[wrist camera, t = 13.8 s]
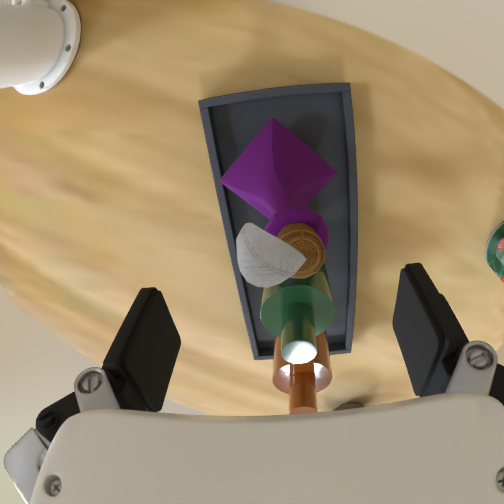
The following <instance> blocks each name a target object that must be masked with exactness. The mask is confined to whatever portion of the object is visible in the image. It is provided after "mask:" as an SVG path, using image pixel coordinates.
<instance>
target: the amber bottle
mask: <svg viewBox="0 0 504 504" xmlns="http://www.w3.org/2000/svg"><path fill="white" fill-rule="evenodd" d="M316 341H317V354H316V356H315V357H314V359H312V360H311V361H309V362H306V363H302V364H294V363H290V362H287V361H286V360H284V359H283V357H282V356H281V338H280V337H277V336H275V335H274V357H273V377H272V380H273V384H274V386H275V387H276V388H277V389H278V390H280V391H282V392H284V393H287V394H289V415H292V414H306V413H317V398H316V392H319V391H321V390H323V389H324V388H326V387H327V386H328V385H329V384H330V382H331V380H332V370H331V362H330V353H329V345H328V337H327V330H325V331H324V332H322V333H321V334H319V335H317V336H316Z"/></svg>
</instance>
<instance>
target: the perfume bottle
mask: <svg viewBox="0 0 504 504" xmlns="http://www.w3.org/2000/svg"><path fill="white" fill-rule="evenodd" d="M336 174H337V172H336V171H335V170H334V169H333V168H332V167H331V166H330V165H329V164H328V163H327V162H325V161H324V160H323V159H322V158H321V157H320V156H319V155H318V154H316V153H315V152H314V151H313V150H312V149H311V148H310V147H308V146H307V145H306V144H305V143H304V142H303V141H301V140H300V139H299V138H298V137H297V136H296V135H294V134H293V133H292V132H291V131H290V130H288V129H287V128H286V127H285V126H284V125H282V124H281V123H280V122H279V121H277V120H276V119H274V118H272V119H270V120H269V122H268V123H267V124H266V125H265V126H264V127H263V129H262V130H261V131H260V132H259V133H258V134H257V136H256V137H255V138H254V139H253V140H252V141H251V143H250V144H249V145H248V146H247V147H246V149H245V150H244V151H243V152H242V153H241V154H240V156H239V157H238V158H237V159H236V161H235V162H234V163H233V164H232V165H231V167H230V168H229V169H228V170H227V172H226V173H225V174H224V175H223V176H222V178H221V179H220V181H221V183H222V184H223V185H225V186H226V187H227V188H229V189H230V190H231V191H233V192H234V193H235V194H237V195H238V196H239V197H241V198H242V199H243V200H244V201H246V202H247V203H248V204H250V205H251V206H252V207H254V208H255V209H256V210H257V211H259V212H260V213H261V214H263V215H264V216H265V217H267V218H268V219H269V222H268V223H267V225H266V226H265V228H264V230H262V229H261V228H259V227H258V226H256V225H254V224H253V223H246V224H245V225H244V226H243V228H242V229H241V231H240V233H239V235H238V237H237V239H236V246H237V260H238V265H239V269H240V272H241V273H242V275H243V276H244V278H245V279H246V281H247V282H249V283H251V284H253V285H255V286H257V287H266V288H268V287H271V286H274V285H277V284H279V283H282V282H283V281H285V280H286V279H288V278H289V277H290V278H307V277H309V276H311V275H313V274H315V273H317V272H318V270H319V269H320V268H321V266H322V265H323V264H324V262H325V250H326V249H327V244H328V235H329V230H328V228H327V226H326V224H325V221H324V219H323V217H322V216H321V215H320V214H318V213H316V212H315V211H313V210H312V209H310V208H308V207H306V206H307V205H308V204H309V203H310V202H311V201H312V199H313V198H314V197H315V196H316V195H317V194H318V193H319V192H320V191H321V190H322V189H323V188H324V187H325V186H326V185H327V184H328V183H329V182H330V181H331V180H332V179H333V178H334V177H335V176H336Z"/></svg>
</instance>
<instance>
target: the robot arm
mask: <svg viewBox="0 0 504 504" xmlns="http://www.w3.org/2000/svg"><path fill="white" fill-rule="evenodd" d="M80 34H81V22H80V18H79V14H78V12H77V10H76V8H75V6H74V5H73V4H72V3H71V2H69V1H68V0H12V5H11V4H0V89H1V88H5V87H10V86H13V87H14V88H15V89H16V90H17V91H18V92H20V93H22V94H27V95H33V94H39V93H43V92H45V91H47V90H49V89H50V88H52V87H53V86H54V85H56V84H57V83H58V82H59V81H60V80H61V79H62V78H63V76H64V75H65V73H66V72H67V71H68V69H69V67H70V66H71V64H72V62H73V60H74V57H75V55H76V52H77V49H78V45H79V42H80ZM393 329H394V332H395V335H396V337H397V340H398V343H399V346H400V349H401V352H402V355H403V358H404V361H405V364H406V367H407V370H408V373H409V377H410V380H411V383H412V386H413V390H414V393H415V395H416V396H420V397H419V398H414V399H409V400H404V401H398V402H393V403H387V404H380V405H374V406H368V407H361V408H354V409H346V410H338V411H329V412H318V413H306V414H292V415H272V416H206V415H186V414H172V413H159V412H158V411H160V410H161V409H162V406H163V402H164V399H165V395H166V392H167V389H168V385H169V382H170V378H171V375H172V372H173V368H174V365H175V362H176V358H177V355H178V352H179V349H180V345H181V339H180V336H179V333H178V331H177V329H176V326H175V324H174V322H173V319H172V317H171V315H170V312H169V310H168V307H167V305H166V302H165V300H164V297H163V295H162V293H161V291H158V290H157V289H156V288H155V287H151V288H142V289H141V290H140V291H139V293H138V295H137V297H136V299H135V301H134V302H133V304H132V306H131V308H130V310H129V312H128V314H127V316H126V318H125V319H124V321H123V323H122V325H121V327H120V329H119V331H118V333H117V335H116V337H115V339H114V341H113V343H112V345H111V347H110V349H109V351H108V353H107V355H106V357H105V359H104V362H103V366H102V368H98V367H91V368H88V369H86V370H84V371H83V372H81V373H80V374H79V375H78V377H77V378H76V380H75V383H74V390H75V391H74V392H72V393H71V394H69V395H67V396H66V397H64V398H62V399H60V400H59V401H57V402H55V403H53V404H52V405H50V406H48V407H47V408H45V409H43V410H42V411H41V412H40V414H39V415H38V417H37V419H36V429H33V428H31V429H30V430H28V431H27V432H26V433H25V434H24V436H22V437H21V438H20V439H19V440H18V441H17V442H16V443H15V444H14V445H13V446H12V447H11V448H10V449H9V450H8V451H7V453H6V454H5V457H4V466H5V469H6V470H7V472H8V474H9V476H10V478H11V479H12V481H13V483H14V485H15V486H16V488H17V490H18V491H19V493H20V495H21V496H22V498H23V500H24V501H25V503H26V504H504V366H502V365H500V364H498V363H497V354H496V352H495V350H494V349H493V348H492V347H491V346H490V345H489V344H487V343H485V342H483V341H471V342H469V341H468V339H467V337H466V335H465V333H464V331H463V329H462V327H461V325H460V324H459V322H458V320H457V318H456V316H455V314H454V313H453V311H452V309H451V307H450V306H449V304H448V302H447V300H446V299H445V297H444V296H443V295H442V294H439V292H438V290H437V289H436V287H435V285H434V284H433V282H432V280H431V279H430V277H429V275H428V274H427V272H426V271H425V269H424V267H423V266H422V264H421V263H412V264H406V265H405V268H402V269H401V272H400V279H399V286H398V292H397V299H396V305H395V310H394V316H393Z"/></svg>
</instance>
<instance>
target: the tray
mask: <svg viewBox="0 0 504 504" xmlns="http://www.w3.org/2000/svg"><path fill="white" fill-rule="evenodd" d="M350 91H351V89H350V83H329V84H312V85H300V86H289V87H279V88H271V89H263V90H256V91H249V92H242V93H236V94H230V95H224V96H219V97H213V98H208V99H203V100H199V101H198V103H199V108H200V113H201V118H202V123H203V128H204V133H205V138H206V143H207V148H208V153H209V158H210V163H211V168H212V173H213V178H214V182H215V187H216V192H217V197H218V201H219V206H220V211H221V216H222V220H223V225H224V230H225V234H226V239H227V243H228V248H229V252H230V257H231V262H232V266H233V270H234V275H235V279H236V284H237V288H238V293H239V297H240V301H241V306H242V310H243V314H244V319H245V323H246V327H247V332H248V336H249V340H250V344H251V348H252V353H253V357H254V360H265V359H273V357H274V335H273V334H272V333H270V332H269V331H268V330H267V329H266V328H265V326H264V325H263V323H262V321H261V317H260V310H261V299H262V288H263V287H257V286H255V285H253V284H251V283H249V282H247V281H246V279H245V278H244V276H243V275H242V273H241V272H240V269H239V265H238V260H237V246H236V239H237V237H238V235H239V233H240V231H241V229H242V228H243V226H244V225H245V224H246V223H253V224H254V225H256V226H258V227H259V228H261V229H262V230H264V228H265V226H266V225H267V223H268V222H269V219H268V218H267V217H265V216H264V215H263V214H261V213H260V212H259V211H257V210H256V209H255V208H254V207H252V206H251V205H250V204H248V203H247V202H246V201H244V200H243V199H242V198H241V197H239V196H238V195H237V194H235V193H234V192H233V191H231V190H230V189H229V188H227V187H226V186H225V185H223V184H222V183H221V181H220V179H221V178H222V176H223V175H224V174H225V173H226V172H227V170H228V169H229V168H230V167H231V165H232V164H233V163H234V162H235V161H236V159H237V158H238V157H239V156H240V154H241V153H242V152H243V151H244V150H245V149H246V147H247V146H248V145H249V144H250V143H251V141H252V140H253V139H254V138H255V137H256V136H257V134H258V133H259V132H260V131H261V130H262V129H263V127H264V126H265V125H266V124H267V123H268V122H269V120H270V119H272V118H274V119H276V120H277V121H279V122H280V123H281V124H282V125H284V126H285V127H286V128H287V129H288V130H290V131H291V132H292V133H293V134H294V135H296V136H297V137H298V138H299V139H300V140H301V141H303V142H304V143H305V144H306V145H307V146H308V147H310V148H311V149H312V150H313V151H314V152H315V153H316V154H318V155H319V156H320V157H321V158H322V159H323V160H324V161H325V162H327V163H328V164H329V165H330V166H331V167H332V168H333V169H334V170H335V171H336V172H337V174H336V176H335V177H334V178H333V179H332V180H331V181H330V182H329V183H328V184H327V185H326V186H325V187H324V188H323V189H322V190H321V191H320V192H319V193H318V194H317V195H316V196H315V197H314V198H313V199H312V201H311V202H310V203H309V204H308V205H307V206H306V207H308V208H310V209H312V210H313V211H315V212H316V213H318V214H320V215H321V216H322V217H323V219H324V221H325V224H326V226H327V228H328V230H329V235H328V244H327V249H326V250H325V263H326V268H327V273H328V278H329V282H330V287H331V293H332V298H333V303H334V309H335V313H334V318H333V320H332V323H331V324H330V326H329V327H328V328H327V329H326V330H327V337H328V345H329V353H330V355H334V354H343V353H351V347H352V337H353V326H354V313H355V298H356V279H357V248H358V197H357V167H356V148H355V133H354V121H353V109H352V99H351V92H350Z"/></svg>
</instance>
